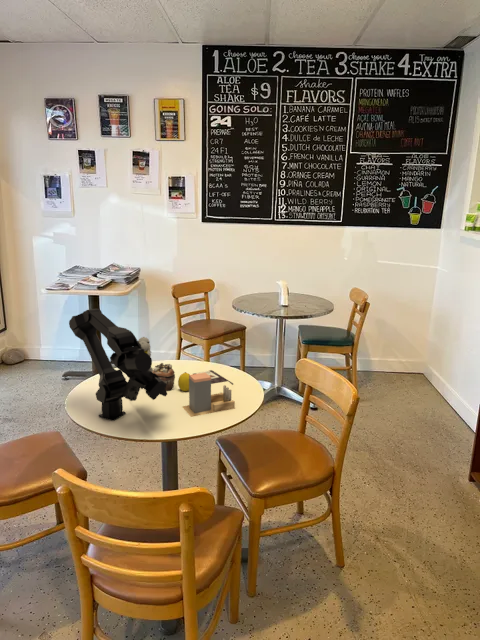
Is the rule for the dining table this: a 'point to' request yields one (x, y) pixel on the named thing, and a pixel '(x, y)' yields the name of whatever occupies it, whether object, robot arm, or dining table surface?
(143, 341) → the alarm clock
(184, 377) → the lemon
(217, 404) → the wooden stand
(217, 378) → the chocolate bar
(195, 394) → the plug block
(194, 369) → the dining table surface
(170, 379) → the cupcake
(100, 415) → the robot arm
